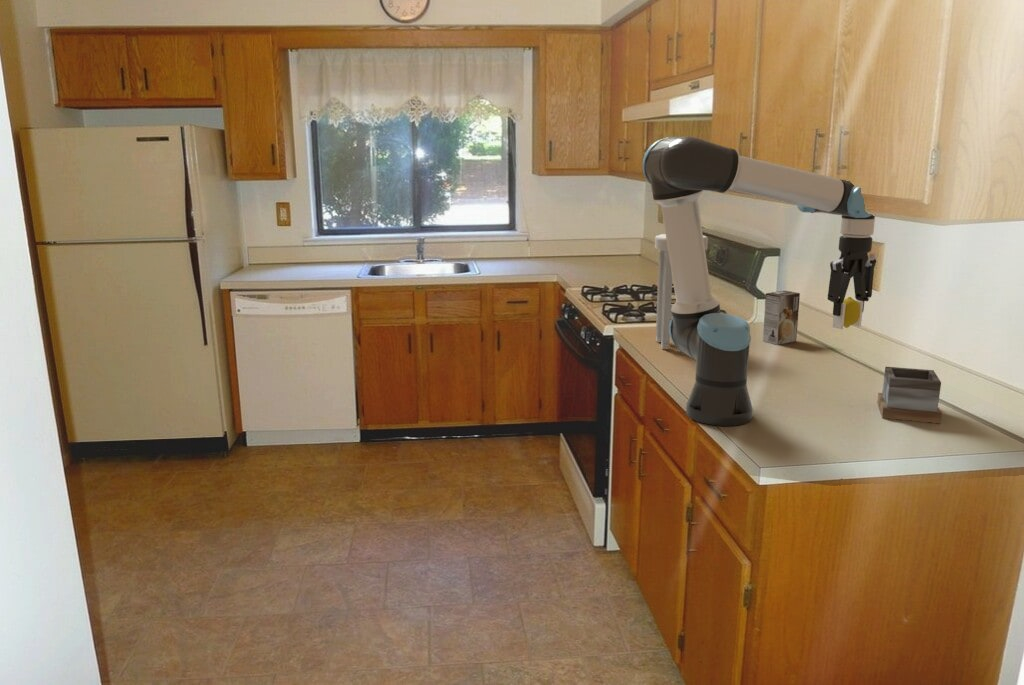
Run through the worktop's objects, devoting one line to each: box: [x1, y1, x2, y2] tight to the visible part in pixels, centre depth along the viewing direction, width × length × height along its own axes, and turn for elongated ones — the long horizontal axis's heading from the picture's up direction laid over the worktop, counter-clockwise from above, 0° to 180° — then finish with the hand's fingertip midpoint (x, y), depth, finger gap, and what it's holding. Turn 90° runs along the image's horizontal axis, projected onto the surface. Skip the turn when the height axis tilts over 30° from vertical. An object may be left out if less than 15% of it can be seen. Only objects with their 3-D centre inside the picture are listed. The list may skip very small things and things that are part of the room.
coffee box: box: [762, 290, 801, 346], centre depth 245 cm, size 9×6×16 cm
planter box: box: [876, 366, 943, 424], centre depth 178 cm, size 12×12×10 cm
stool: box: [654, 233, 709, 350], centre depth 239 cm, size 16×16×35 cm
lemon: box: [843, 296, 860, 329], centre depth 193 cm, size 6×6×8 cm
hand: (846, 326), depth 194 cm, fingers closed on lemon, 5 cm apart
